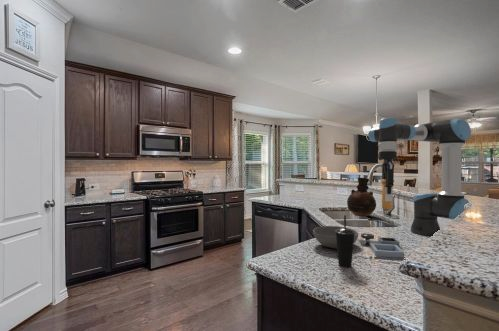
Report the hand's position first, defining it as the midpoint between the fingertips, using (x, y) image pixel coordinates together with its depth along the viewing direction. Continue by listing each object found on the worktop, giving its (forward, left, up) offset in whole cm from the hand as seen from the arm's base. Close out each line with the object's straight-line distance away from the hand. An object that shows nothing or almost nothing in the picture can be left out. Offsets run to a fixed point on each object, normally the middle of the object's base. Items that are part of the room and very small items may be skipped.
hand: (387, 200), depth 132 cm
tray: (+3, +10, -23) cm, 25 cm away
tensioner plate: (+3, -3, -23) cm, 24 cm away
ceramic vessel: (-2, -88, -24) cm, 91 cm away
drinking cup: (+22, +26, -24) cm, 41 cm away
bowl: (+24, +1, -24) cm, 34 cm away
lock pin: (0, 0, -4) cm, 4 cm away
